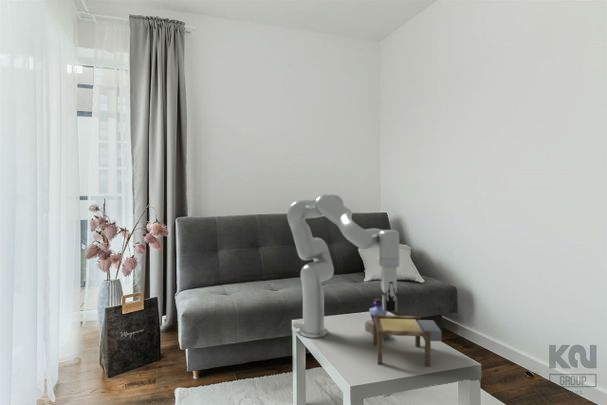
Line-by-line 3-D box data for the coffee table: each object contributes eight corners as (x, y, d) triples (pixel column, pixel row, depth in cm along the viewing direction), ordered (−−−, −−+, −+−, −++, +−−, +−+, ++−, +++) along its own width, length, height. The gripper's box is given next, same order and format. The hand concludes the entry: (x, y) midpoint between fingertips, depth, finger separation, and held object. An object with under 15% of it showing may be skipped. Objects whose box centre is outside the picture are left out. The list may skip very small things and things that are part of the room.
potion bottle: (375, 328, 168) (375, 302, 168) (365, 322, 176) (365, 297, 176) (390, 325, 171) (390, 300, 171) (380, 320, 179) (380, 296, 179)
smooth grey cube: (383, 311, 138) (383, 298, 138) (382, 307, 143) (382, 294, 143) (397, 311, 138) (397, 298, 138) (395, 307, 143) (395, 294, 143)
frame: (377, 364, 132) (377, 331, 132) (373, 343, 151) (373, 315, 150) (430, 366, 130) (430, 333, 130) (419, 345, 149) (419, 316, 149)
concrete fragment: (377, 328, 169) (377, 315, 169) (391, 339, 155) (391, 325, 155) (363, 329, 167) (363, 316, 167) (376, 341, 154) (376, 326, 154)
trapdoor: (383, 340, 134) (383, 330, 134) (379, 326, 148) (379, 318, 148) (442, 342, 132) (442, 332, 132) (432, 328, 146) (432, 319, 146)
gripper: (377, 258, 149) (377, 302, 149) (381, 266, 132) (382, 315, 132) (395, 258, 148) (396, 302, 149) (402, 266, 131) (403, 316, 132)
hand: (389, 308), depth 141 cm, fingers closed on smooth grey cube, 5 cm apart
